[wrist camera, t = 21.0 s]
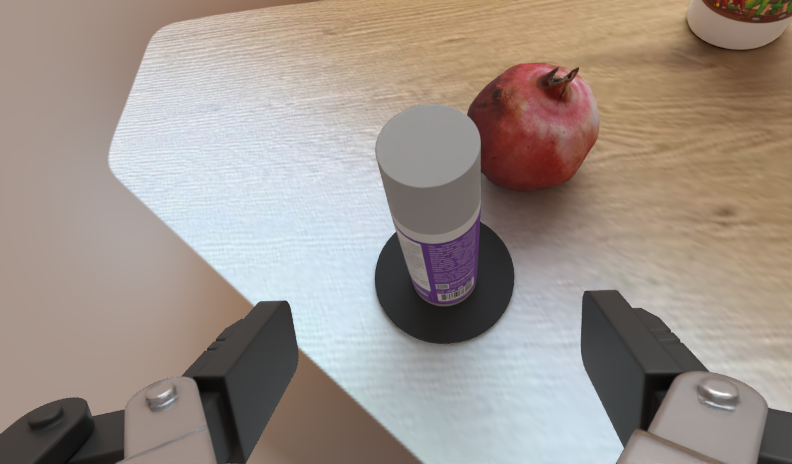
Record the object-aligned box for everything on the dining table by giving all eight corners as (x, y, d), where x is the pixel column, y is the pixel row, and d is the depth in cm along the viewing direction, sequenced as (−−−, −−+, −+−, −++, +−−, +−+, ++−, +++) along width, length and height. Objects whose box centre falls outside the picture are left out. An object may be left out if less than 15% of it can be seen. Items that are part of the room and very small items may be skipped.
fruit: (443, 163, 37) (435, 69, 28) (523, 99, 38) (539, -8, 30) (527, 233, 33) (549, 150, 24) (611, 158, 34) (661, 55, 26)
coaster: (447, 192, 35) (447, 189, 35) (544, 278, 31) (544, 276, 30) (349, 271, 33) (348, 269, 33) (437, 375, 29) (437, 374, 29)
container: (481, 251, 32) (491, 105, 19) (471, 312, 30) (474, 197, 17) (419, 241, 33) (386, 97, 20) (405, 300, 31) (359, 183, 18)
